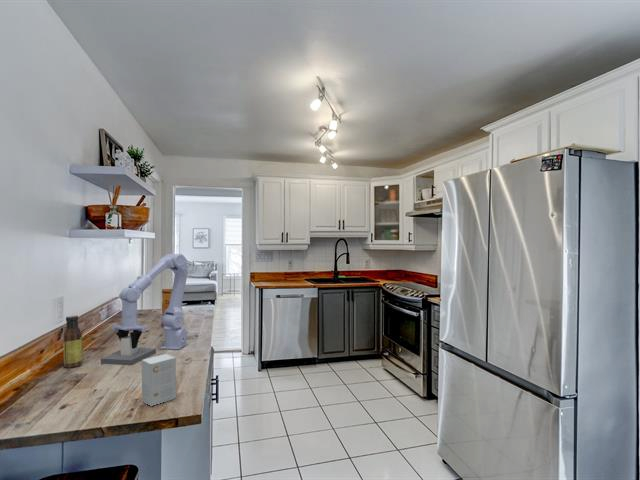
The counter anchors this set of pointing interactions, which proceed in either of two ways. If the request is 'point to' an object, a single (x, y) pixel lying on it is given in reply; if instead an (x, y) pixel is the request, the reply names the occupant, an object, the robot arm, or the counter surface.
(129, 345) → the plug
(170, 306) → the robot arm
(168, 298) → the coffee package
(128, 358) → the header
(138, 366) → the counter surface
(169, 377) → the small box
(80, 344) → the sauce bottle
